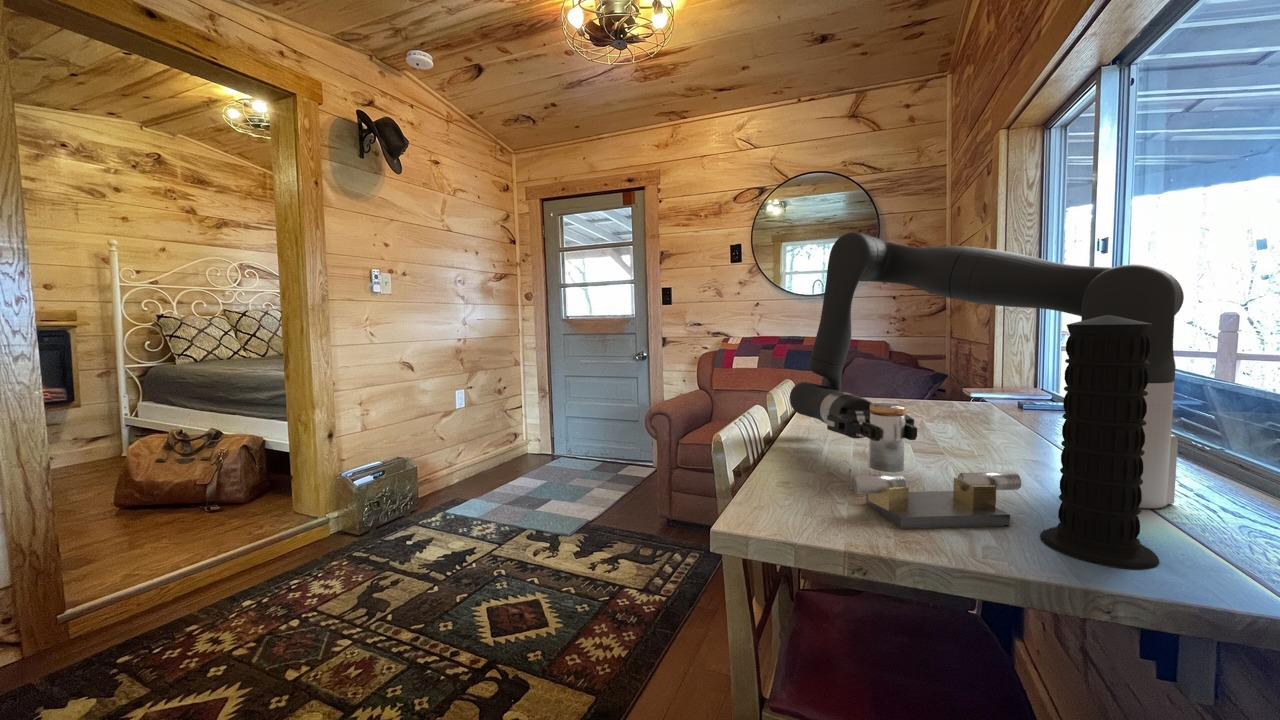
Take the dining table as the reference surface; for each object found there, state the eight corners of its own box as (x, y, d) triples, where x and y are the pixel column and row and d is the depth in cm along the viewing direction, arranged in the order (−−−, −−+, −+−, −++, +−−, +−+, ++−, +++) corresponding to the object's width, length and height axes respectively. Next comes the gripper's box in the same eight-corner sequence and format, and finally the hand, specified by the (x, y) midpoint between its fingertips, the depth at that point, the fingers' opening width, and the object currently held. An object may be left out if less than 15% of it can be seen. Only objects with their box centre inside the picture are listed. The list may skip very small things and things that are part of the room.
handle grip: (1188, 570, 51) (1107, 530, 61) (1205, 313, 49) (1118, 314, 59) (1083, 567, 52) (1020, 528, 62) (1095, 314, 50) (1028, 316, 60)
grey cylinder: (893, 462, 82) (894, 402, 82) (911, 471, 77) (912, 408, 76) (862, 463, 82) (863, 403, 81) (878, 472, 77) (879, 408, 76)
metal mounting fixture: (989, 500, 72) (990, 462, 72) (1040, 525, 63) (1042, 482, 63) (842, 503, 72) (842, 466, 71) (873, 529, 63) (873, 486, 62)
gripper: (809, 394, 93) (850, 411, 76) (885, 393, 93) (942, 408, 76) (809, 434, 94) (849, 459, 77) (885, 432, 94) (941, 457, 77)
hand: (895, 434), depth 77 cm, fingers closed on grey cylinder, 5 cm apart
